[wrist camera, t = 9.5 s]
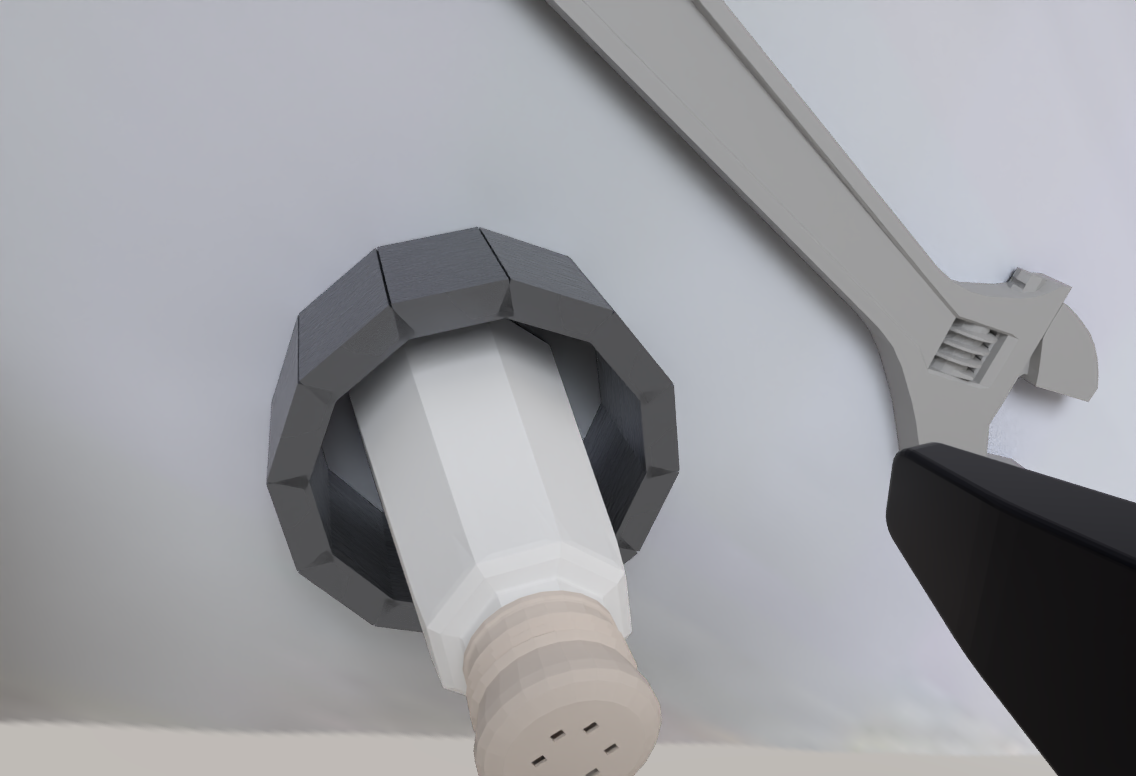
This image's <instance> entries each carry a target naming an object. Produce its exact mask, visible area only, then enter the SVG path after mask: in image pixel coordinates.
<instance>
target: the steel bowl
mask: <svg viewBox="0 0 1136 776" xmlns="http://www.w3.org/2000/svg"><path fill="white" fill-rule="evenodd" d="M378 251H379V252H378ZM503 318H507V319H511V320H514V321H518V322H521V323H524V324H528V325H531V326H535V327H538V328H542V329H545V330H548V331H552V332H555V333H559V334H562V335H566V336H569V337H573V338H576V339H579V340H583V341H586V342H590V343H591V344H592V345H593V346H594V347H595V350H596V358H597V367H598V376H599V385H600V393H601V405H600V407H599V409H598V411H597V413H596V416H595V418H594V420H593V422H592V424H591V427H590V429H589V431H588V433H587V435H586V438H585V440H584V442H583V444H584V447H585V449H586V452H587V455H588V458H589V461H590V464H591V467H592V470H593V473H594V476H595V479H596V481H597V484H598V487H599V490H600V493H601V496H602V499H603V502H604V505H605V508H606V510H607V513H608V516H609V519H610V522H611V525H612V528H613V531H614V534H615V537H616V540H617V543H618V547H619V550H620V554H621V558H622V562H623V564H624V563H626V562H627V561H628V560H630V559H631V558H632V557H633V556H635V555H636V554H637V551H640V549H641V547H642V545H643V543H644V541H645V539H646V537H647V535H648V533H649V531H650V529H651V527H652V525H653V523H654V521H655V519H656V517H657V515H658V513H659V511H660V509H661V507H662V505H663V503H664V501H665V499H666V497H667V495H668V493H669V491H670V489H671V487H672V485H673V483H674V482H675V480H676V478H677V476H678V474H679V472H678V471H679V456H678V441H677V426H676V411H675V395H674V385H673V382H672V381H671V380H670V379H669V378H668V376H667V375H666V374H665V373H664V371H663V370H662V369H661V368H660V366H659V365H658V364H657V363H656V362H655V360H654V359H653V358H652V357H651V355H650V354H649V353H648V352H647V350H646V349H645V348H644V347H643V346H642V344H641V343H640V342H639V341H638V339H637V338H636V337H635V336H634V334H633V333H632V332H631V331H630V330H629V328H628V327H627V326H626V325H625V323H624V322H623V321H622V320H621V318H620V317H619V316H618V315H617V314H616V312H615V311H614V310H613V309H612V308H611V306H610V305H609V304H608V303H607V302H606V300H605V299H604V298H603V297H602V296H601V294H600V293H599V292H598V291H597V289H596V288H595V287H594V286H593V285H592V283H591V282H590V281H589V280H588V279H587V277H586V276H585V275H584V274H583V273H582V271H581V270H580V269H579V268H578V267H577V265H576V264H575V263H574V262H573V261H572V259H571V258H569V257H568V256H565V255H562V254H559V253H556V252H553V251H550V250H547V249H544V248H541V247H538V246H535V245H532V244H529V243H526V242H523V241H520V240H517V239H514V238H511V237H508V236H505V235H502V234H499V233H496V232H493V231H489V230H486V229H483V228H479V229H478V227H475V228H470V229H465V230H460V231H455V232H450V233H445V234H440V235H435V236H430V237H425V238H420V239H415V240H410V241H406V242H401V243H396V244H391V245H386V246H381V247H378V250H377V249H376V248H375V249H374V250H373V251H371V252H370V253H369V254H368V255H367V256H366V257H364V258H363V259H362V260H361V261H360V262H359V263H357V264H356V265H355V266H354V267H353V268H352V269H351V270H349V271H348V272H347V273H346V274H345V275H344V276H342V277H341V278H340V279H339V280H338V281H337V282H335V283H334V284H333V285H332V286H331V287H330V288H328V289H327V290H326V291H325V292H324V293H323V294H321V295H320V296H319V297H318V298H317V299H316V300H314V301H313V302H312V303H311V304H310V305H309V306H307V307H306V308H305V309H304V310H303V311H302V312H301V313H299V315H298V317H297V321H296V324H295V327H294V330H293V334H292V337H291V340H290V344H289V347H288V350H287V353H286V357H285V360H284V363H283V366H282V370H281V373H280V376H279V379H278V383H277V386H276V389H275V393H274V396H273V399H272V403H271V419H270V435H269V450H268V466H267V487H268V490H269V493H270V496H271V498H272V501H273V504H274V507H275V510H276V513H277V515H278V518H279V521H280V524H281V527H282V529H283V532H284V535H285V538H286V541H287V544H288V546H289V549H290V552H291V555H292V558H293V560H294V563H295V566H296V569H297V571H299V573H300V574H301V575H303V576H304V577H305V578H307V579H308V580H310V581H311V582H312V583H314V584H315V585H317V586H318V587H319V588H321V589H322V590H324V591H325V592H327V593H328V594H329V595H331V596H332V597H334V598H335V599H336V600H338V601H339V602H341V603H342V604H343V605H345V606H346V607H348V608H349V609H350V610H352V611H353V612H355V613H356V614H357V615H359V616H360V617H362V618H363V619H365V620H366V621H367V622H369V623H370V624H372V625H374V624H375V626H378V627H386V628H393V629H401V630H409V631H417V632H423V631H422V628H421V625H420V622H419V619H418V615H417V612H416V609H415V606H414V603H413V600H412V597H411V594H410V591H409V587H408V584H407V581H406V578H405V575H404V572H403V569H402V566H401V563H400V559H399V556H398V553H397V550H396V547H395V544H394V541H393V538H392V535H391V532H390V528H389V525H388V522H387V519H386V516H385V513H383V512H381V511H379V510H378V509H377V508H376V507H374V506H373V505H372V504H371V503H369V502H368V501H367V500H366V499H365V498H363V497H362V496H361V495H360V494H358V493H357V492H356V491H355V490H353V489H352V488H351V487H350V486H349V485H347V484H346V483H345V482H344V481H342V480H341V479H340V478H339V477H337V476H336V475H335V474H334V473H333V472H331V471H330V470H329V469H328V467H327V464H326V460H325V457H324V454H323V451H322V447H321V444H322V441H323V438H324V435H325V432H326V429H327V426H328V423H329V421H330V418H331V415H332V412H333V409H334V406H335V403H336V401H337V400H338V399H339V398H340V397H342V396H343V395H344V394H345V393H346V392H348V391H349V390H350V389H351V388H352V387H353V386H355V385H356V384H357V383H358V382H359V381H361V380H362V379H363V378H364V377H365V376H367V375H368V374H369V373H370V372H371V371H372V370H374V369H375V368H376V367H377V366H378V365H380V364H381V363H382V362H383V361H384V360H385V359H387V358H388V357H389V356H390V355H391V354H393V353H394V352H395V351H396V350H397V349H399V348H400V347H401V346H402V345H403V344H404V343H406V342H407V341H408V340H409V339H413V338H417V337H422V336H426V335H431V334H435V333H440V332H444V331H449V330H453V329H458V328H462V327H467V326H471V325H476V324H481V323H485V322H490V321H494V320H499V319H503Z"/></svg>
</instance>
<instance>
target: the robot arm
mask: <svg viewBox="0 0 1136 776" xmlns="http://www.w3.org/2000/svg"><path fill="white" fill-rule="evenodd" d="M886 522H887V526H888V530H889V532H890V535H891V537H892V539H893V541H894V542H895V544H896V545H897V547H898V549H899V550H900V552H901V553H902V555H903V557H904V558H905V560H906V561H907V563H908V565H909V566H910V568H911V569H912V571H913V573H914V574H915V576H916V577H917V579H918V581H919V582H920V584H921V585H922V587H923V589H924V590H925V592H926V593H927V595H928V597H929V598H930V600H931V601H932V603H933V605H934V606H935V608H936V609H937V611H938V613H939V614H940V616H941V617H942V619H943V621H944V622H945V624H946V625H947V627H948V629H949V630H950V632H951V633H952V635H953V637H954V638H955V640H956V641H957V643H958V644H959V646H960V647H961V649H962V650H963V652H964V653H965V655H966V656H967V658H968V659H969V660H970V662H971V663H972V665H973V666H974V667H975V669H976V670H977V671H978V673H979V674H980V675H981V677H982V678H983V680H984V681H985V682H986V683H987V685H988V686H989V687H990V689H991V690H992V691H993V692H994V694H995V695H996V696H997V698H998V699H999V700H1000V701H1001V703H1002V704H1003V705H1004V707H1005V708H1006V709H1007V711H1008V712H1009V713H1010V714H1011V716H1012V717H1013V718H1014V720H1015V721H1016V722H1017V723H1018V725H1019V726H1020V727H1021V729H1022V730H1023V731H1024V733H1025V734H1026V735H1027V736H1028V738H1029V739H1030V740H1031V742H1032V743H1033V744H1034V745H1035V747H1036V748H1037V749H1038V751H1039V752H1040V753H1041V755H1042V756H1043V757H1044V758H1045V759H1046V761H1047V762H1048V763H1049V765H1050V766H1051V767H1052V769H1053V770H1054V771H1055V773H1056V774H1057V775H1058V776H1136V503H1135V502H1131V501H1128V500H1125V499H1122V498H1118V497H1115V496H1112V495H1109V494H1105V493H1102V492H1099V491H1096V490H1092V489H1089V488H1086V487H1083V486H1079V485H1076V484H1073V483H1069V482H1066V481H1063V480H1060V479H1056V478H1053V477H1050V476H1047V475H1043V474H1040V473H1037V472H1034V471H1030V470H1027V469H1024V468H1021V467H1017V466H1014V465H1011V464H1008V463H1004V462H1001V461H998V460H995V459H991V458H988V457H985V456H982V455H978V454H975V453H972V452H969V451H965V450H962V449H959V448H956V447H952V446H949V445H946V444H943V443H939V442H930V443H925V444H921V445H917V446H912V447H908V448H904V449H902V450H900V451H899V452H898V453H897V454H896V456H895V458H894V460H893V464H892V471H891V479H890V486H889V493H888V501H887V508H886Z"/></svg>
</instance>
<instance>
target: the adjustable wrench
mask: <svg viewBox="0 0 1136 776" xmlns="http://www.w3.org/2000/svg"><path fill="white" fill-rule="evenodd" d="M545 1H546V2H547V3H548V4H549V5H550V6H551V7H552V8H553V9H554V10H555V11H556V12H557V13H558V14H559V15H560V16H561V17H562V18H563V19H564V20H565V21H566V22H567V23H568V24H569V25H570V26H571V27H572V28H573V29H574V30H575V31H576V32H577V33H578V34H579V35H580V36H581V37H582V38H583V39H584V40H585V41H586V42H587V43H588V44H589V45H590V46H591V47H592V48H593V49H594V50H595V51H596V52H597V53H598V54H599V55H600V56H601V57H602V58H603V59H604V60H605V61H606V62H607V63H608V64H609V65H610V66H611V67H612V68H613V69H614V70H615V71H616V72H617V73H618V74H619V75H620V76H621V77H622V78H623V79H624V80H625V81H626V82H627V83H628V84H629V85H630V86H631V87H632V88H633V89H634V90H635V91H636V92H637V93H638V94H639V95H640V96H641V97H642V98H643V99H644V100H645V101H646V102H647V103H648V104H649V105H650V106H651V107H652V108H653V109H654V110H655V111H656V112H657V113H658V114H659V115H660V116H661V117H662V118H663V119H664V120H665V121H666V122H667V123H668V124H669V125H670V126H671V127H672V128H673V129H674V130H675V131H676V132H677V133H678V134H679V135H680V136H681V137H682V138H683V139H684V140H685V141H686V142H687V143H688V144H689V145H690V146H691V147H692V148H693V149H694V150H695V151H696V152H697V153H698V154H699V155H700V156H701V157H702V158H703V159H704V161H705V162H706V163H707V164H708V165H709V166H710V167H711V168H712V169H713V170H714V171H715V172H716V173H717V174H718V175H719V176H720V177H721V178H722V179H723V180H724V181H725V182H726V183H727V184H728V185H729V186H730V187H731V188H732V189H733V190H734V191H735V192H736V193H737V194H738V195H739V196H740V197H741V198H742V199H743V200H744V201H745V202H746V203H747V204H748V205H749V206H750V207H751V208H752V209H753V210H754V211H755V212H756V213H757V214H758V215H759V216H760V217H761V218H762V219H763V220H764V221H765V222H766V223H767V224H768V225H769V226H770V227H771V228H772V229H773V230H774V231H775V232H776V233H777V234H778V235H779V236H780V237H781V238H782V239H783V240H784V241H785V242H786V243H787V244H788V245H789V246H790V247H791V248H792V249H793V250H794V251H795V252H796V253H797V254H798V255H799V256H800V257H801V258H802V259H803V260H804V261H805V262H806V263H807V264H808V265H809V266H810V267H811V268H812V269H813V270H814V271H815V272H816V273H817V274H818V275H819V276H820V277H821V278H822V279H823V280H824V281H825V282H826V283H827V284H828V285H829V286H830V287H831V288H832V289H833V290H834V291H835V292H836V293H837V294H838V295H839V296H840V297H841V298H842V299H843V300H844V301H845V302H846V303H847V304H848V305H849V306H850V307H851V308H852V309H853V310H854V311H855V312H856V313H857V314H858V316H859V317H860V318H861V320H862V321H863V322H864V324H865V325H866V326H867V328H868V329H869V331H870V333H871V335H872V337H873V339H874V342H875V344H876V346H877V348H878V351H879V354H880V357H881V361H882V364H883V367H884V371H885V374H886V378H887V381H888V384H889V389H890V394H891V398H892V403H893V410H894V417H895V424H896V430H897V437H898V444H899V450H902V449H904V448H908V447H912V446H917V445H921V444H925V443H930V442H939V443H943V444H946V445H949V446H952V447H956V448H959V449H962V450H965V451H969V452H972V453H975V454H978V455H982V456H985V457H988V458H991V459H995V460H998V461H1001V462H1004V463H1008V464H1011V465H1014V466H1017V467H1021V468H1023V467H1022V466H1021V465H1019V464H1018V463H1017V462H1015V461H1014V460H1013V459H1010V458H1006V457H1002V456H998V455H994V454H990V453H987V446H988V435H989V424H990V423H991V421H992V420H993V418H994V417H995V415H996V413H997V412H998V410H999V409H1000V407H1001V406H1002V404H1003V402H1004V401H1005V399H1006V397H1007V395H1008V394H1009V392H1010V390H1011V389H1012V387H1013V385H1014V384H1015V382H1016V380H1017V379H1018V377H1021V378H1023V379H1024V380H1026V381H1028V382H1029V383H1031V384H1033V385H1034V386H1036V387H1039V388H1043V389H1046V390H1049V391H1053V392H1056V393H1060V394H1063V395H1066V396H1070V397H1073V398H1077V399H1080V400H1084V401H1087V402H1089V400H1090V399H1091V397H1092V396H1093V394H1094V393H1095V391H1096V390H1097V388H1098V361H1097V354H1096V350H1095V345H1094V343H1093V340H1092V338H1091V335H1090V333H1089V331H1088V330H1087V328H1086V327H1085V325H1084V324H1083V322H1082V321H1081V320H1080V318H1079V317H1078V316H1077V315H1076V314H1075V313H1074V312H1073V311H1072V309H1071V308H1070V307H1069V306H1068V305H1066V304H1064V303H1063V302H1064V300H1065V298H1066V297H1067V295H1068V293H1069V292H1070V290H1071V288H1072V287H1070V286H1068V285H1066V284H1064V283H1062V282H1059V281H1057V280H1055V279H1053V278H1051V277H1048V276H1046V275H1044V274H1042V273H1031V272H1028V271H1026V270H1023V269H1021V268H1018V267H1017V269H1016V271H1015V272H1014V274H1013V276H1012V277H1011V279H1010V281H1009V282H1004V283H996V284H987V283H970V282H958V281H954V280H951V279H950V278H949V277H948V276H946V275H945V274H944V273H943V272H942V271H941V270H940V269H939V268H938V267H937V266H936V265H935V263H934V262H933V261H932V260H931V258H930V257H929V256H928V255H927V253H926V252H925V251H924V250H923V248H922V247H921V246H920V245H919V244H918V242H917V241H916V240H915V239H914V237H913V236H912V235H911V234H910V232H909V231H908V230H907V229H906V227H905V226H904V225H903V224H902V222H901V221H900V220H899V219H898V217H897V216H896V215H895V214H894V212H893V211H892V210H891V209H890V207H889V206H888V205H887V204H886V202H885V201H884V200H883V199H882V198H881V196H880V195H879V194H878V193H877V191H876V190H875V189H874V188H873V186H872V185H871V184H870V183H869V181H868V180H867V179H866V178H865V176H864V175H863V174H862V173H861V171H860V170H859V169H858V168H857V166H856V165H855V164H854V163H853V161H852V160H851V159H850V158H849V156H848V155H847V154H846V153H845V152H844V150H843V149H842V148H841V147H840V145H839V144H838V143H837V142H836V140H835V139H834V138H833V137H832V135H831V134H830V133H829V132H828V130H827V129H826V128H825V127H824V125H823V124H822V123H821V122H820V120H819V119H818V118H817V117H816V115H815V114H814V113H813V112H812V110H811V109H810V108H809V107H808V106H807V104H806V103H805V102H804V101H803V99H802V98H801V97H800V96H799V94H798V93H797V92H796V91H795V89H794V88H793V87H792V86H791V84H790V83H789V82H788V81H787V79H786V78H785V77H784V76H783V74H782V73H781V72H780V71H779V69H778V68H777V67H776V66H775V64H774V63H773V62H772V61H771V60H770V58H769V57H768V56H767V55H766V53H765V52H764V51H763V50H762V48H761V47H760V46H759V45H758V43H757V42H756V41H755V40H754V38H753V37H752V36H751V35H750V33H749V32H748V31H747V30H746V28H745V27H744V26H743V25H742V23H741V22H740V21H739V20H738V18H737V17H736V16H735V15H734V14H733V12H732V11H731V10H730V9H729V7H728V6H727V5H726V4H725V2H724V1H723V0H545ZM1024 469H1025V468H1024Z"/></svg>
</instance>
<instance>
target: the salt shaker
mask: <svg viewBox="0 0 1136 776" xmlns="http://www.w3.org/2000/svg"><path fill="white" fill-rule="evenodd" d="M348 392H349V396H350V399H351V403H352V407H353V410H354V414H355V417H356V421H357V424H358V428H359V431H360V435H361V438H362V442H363V445H364V449H365V453H366V456H367V460H368V463H369V466H370V469H371V472H372V476H373V479H374V482H375V485H376V488H377V491H378V494H379V497H380V500H381V504H382V507H383V510H384V513H385V516H386V519H387V522H388V525H389V528H390V532H391V535H392V538H393V541H394V544H395V547H396V550H397V553H398V556H399V559H400V563H401V566H402V569H403V572H404V575H405V578H406V581H407V584H408V587H409V591H410V594H411V597H412V600H413V603H414V606H415V609H416V612H417V615H418V619H419V622H420V625H421V628H422V631H423V634H424V637H425V640H426V643H427V646H428V650H429V653H430V656H431V659H432V662H433V664H434V666H435V669H436V671H437V674H438V676H439V679H440V681H441V684H442V686H443V688H445V689H448V690H451V691H453V692H456V693H459V694H462V695H465V696H466V698H467V702H468V708H469V712H470V718H471V722H472V726H473V730H474V732H475V733H476V735H475V744H474V757H475V763H476V767H477V771H478V775H479V776H634V775H635V773H636V772H637V771H638V770H639V769H640V768H641V767H642V766H643V765H644V764H645V762H646V761H647V759H648V757H649V755H650V754H651V752H652V750H653V748H654V746H655V744H656V741H657V738H658V734H659V730H660V726H661V722H662V719H661V709H660V703H659V702H658V700H657V698H656V696H655V694H654V692H653V690H652V688H651V686H650V685H649V683H648V681H647V680H646V679H645V677H644V676H643V675H642V674H641V673H640V672H639V671H638V670H637V664H636V662H635V660H634V658H633V655H632V653H631V651H630V649H629V648H628V645H627V643H626V641H625V640H626V639H627V637H628V636H629V635H630V634H631V633H632V626H631V615H630V607H629V598H628V589H627V580H626V574H625V569H624V565H623V562H622V558H621V554H620V550H619V547H618V543H617V540H616V537H615V534H614V531H613V528H612V525H611V522H610V519H609V516H608V513H607V510H606V508H605V505H604V502H603V499H602V496H601V493H600V490H599V487H598V484H597V481H596V479H595V476H594V473H593V470H592V467H591V464H590V461H589V458H588V455H587V452H586V449H585V447H584V444H583V441H582V438H581V435H580V432H579V429H578V426H577V423H576V420H575V418H574V415H573V412H572V409H571V406H570V403H569V400H568V397H567V394H566V391H565V388H564V386H563V383H562V380H561V377H560V374H559V371H558V368H557V365H556V362H555V359H554V357H553V354H552V351H551V348H550V345H549V344H547V343H545V342H544V341H542V340H541V339H539V338H537V337H536V336H534V335H532V334H531V333H529V332H527V331H526V330H524V329H523V328H521V327H519V326H518V325H516V324H514V323H513V322H511V321H509V320H508V319H506V318H503V319H499V320H494V321H490V322H485V323H481V324H476V325H471V326H467V327H462V328H458V329H453V330H449V331H444V332H440V333H435V334H431V335H426V336H422V337H417V338H413V339H409V340H408V341H407V342H406V343H404V344H403V345H402V346H401V347H400V348H399V349H397V350H396V351H395V352H394V353H393V354H391V355H390V356H389V357H388V358H387V359H385V360H384V361H383V362H382V363H381V364H380V365H378V366H377V367H376V368H375V369H374V370H372V371H371V372H370V373H369V374H368V375H367V376H365V377H364V378H363V379H362V380H361V381H359V382H358V383H357V384H356V385H355V386H353V387H352V388H351V389H350V390H349V391H348Z"/></svg>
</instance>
